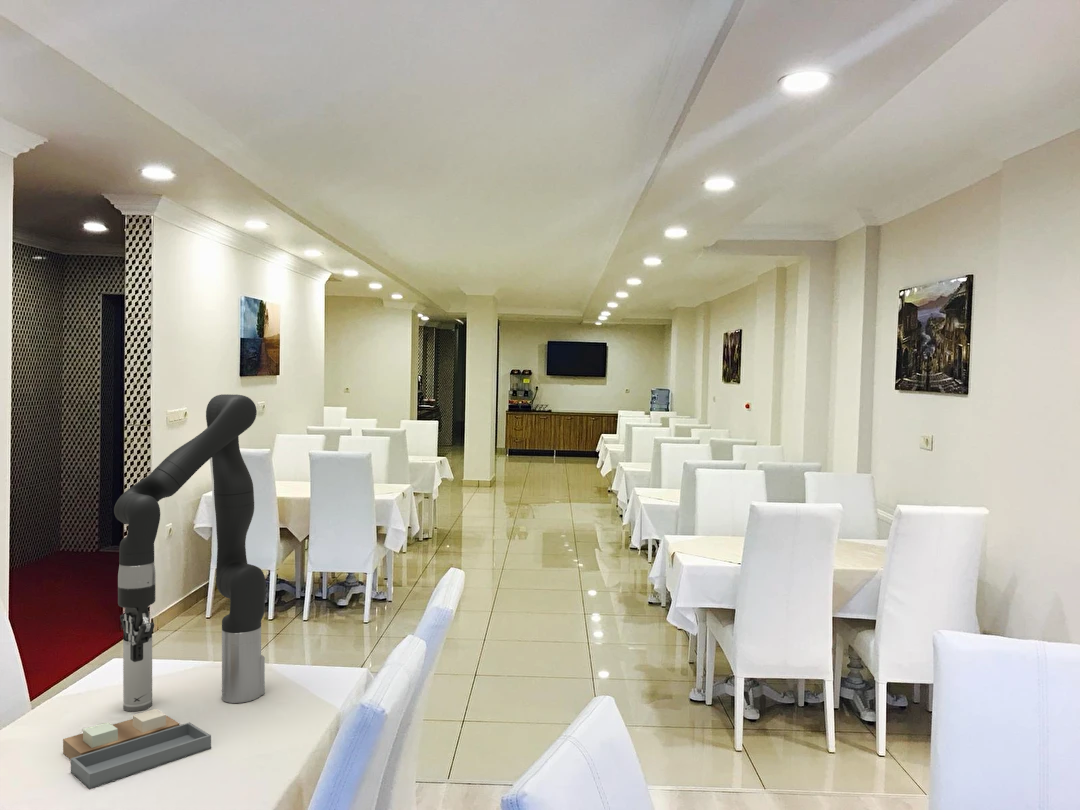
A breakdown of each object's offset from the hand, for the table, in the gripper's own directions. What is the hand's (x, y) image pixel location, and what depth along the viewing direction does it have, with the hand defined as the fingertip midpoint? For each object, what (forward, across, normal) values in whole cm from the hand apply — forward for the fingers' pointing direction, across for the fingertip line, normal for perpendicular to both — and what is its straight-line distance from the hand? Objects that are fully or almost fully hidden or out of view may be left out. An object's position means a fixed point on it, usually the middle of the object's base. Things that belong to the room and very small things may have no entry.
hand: (136, 660), depth 182 cm
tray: (+16, -16, +5) cm, 23 cm away
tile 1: (+13, -6, +10) cm, 18 cm away
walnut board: (+16, -5, +5) cm, 17 cm away
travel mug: (+16, +14, -6) cm, 22 cm away
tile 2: (+13, -6, 0) cm, 14 cm away
